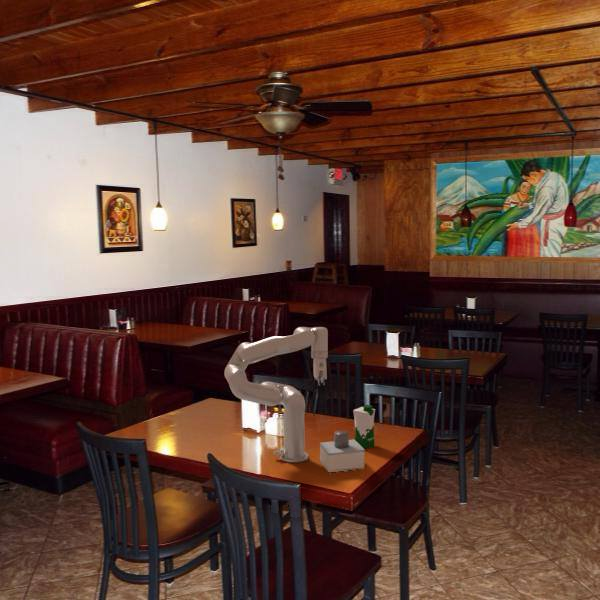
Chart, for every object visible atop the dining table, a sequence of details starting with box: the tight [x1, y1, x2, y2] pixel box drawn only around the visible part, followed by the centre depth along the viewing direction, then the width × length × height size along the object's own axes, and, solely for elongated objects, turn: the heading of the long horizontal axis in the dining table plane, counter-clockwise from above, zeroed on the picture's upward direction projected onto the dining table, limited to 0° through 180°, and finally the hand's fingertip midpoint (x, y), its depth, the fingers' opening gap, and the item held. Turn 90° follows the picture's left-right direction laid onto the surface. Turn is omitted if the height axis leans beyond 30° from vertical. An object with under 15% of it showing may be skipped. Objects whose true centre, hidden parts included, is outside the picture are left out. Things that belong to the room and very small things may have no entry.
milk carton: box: [352, 404, 376, 450], centre depth 295 cm, size 9×9×20 cm
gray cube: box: [333, 430, 350, 449], centre depth 270 cm, size 6×6×6 cm
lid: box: [318, 438, 366, 455], centre depth 270 cm, size 16×14×1 cm
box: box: [319, 445, 365, 474], centre depth 271 cm, size 16×14×8 cm
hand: (319, 390), depth 282 cm, fingers open, 9 cm apart
